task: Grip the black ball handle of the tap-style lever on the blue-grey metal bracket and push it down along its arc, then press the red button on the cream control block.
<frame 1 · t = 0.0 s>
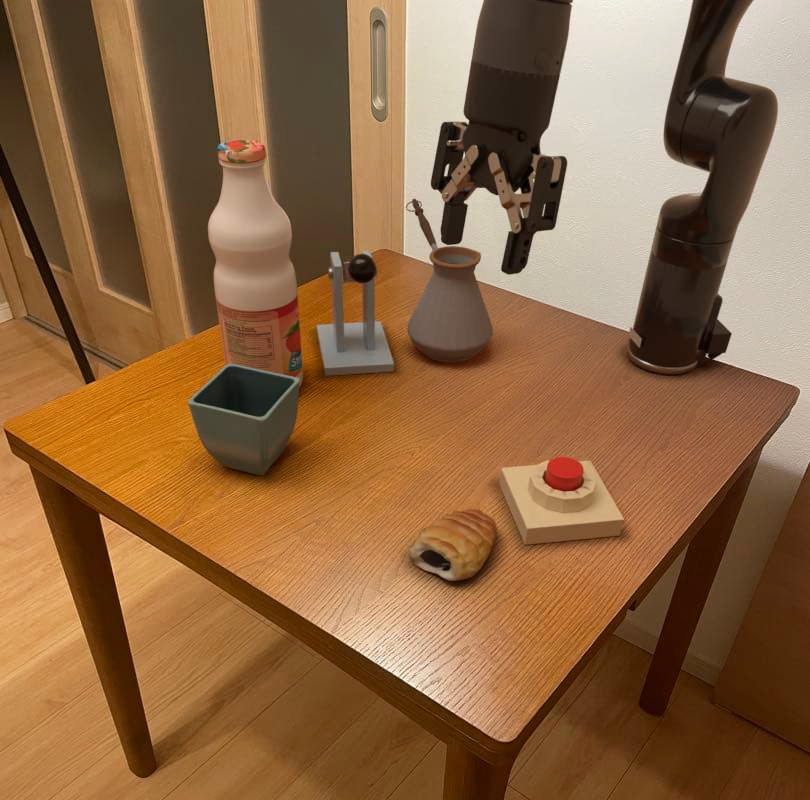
hand: (479, 257, 76), 22 cm above the table, tool pointing down, fingers open, 8 cm apart
button: (564, 474, 80), point 5 cm above the table, slide at 0.2 cm
pastry: (453, 555, 78), on the table
coffee pot: (435, 333, 112), on the table
bracket: (354, 351, 107), on the table
lever: (357, 270, 95), point 13 cm above the table, hinge at 25.0°
flower pot: (253, 461, 89), on the table
fruit juice: (266, 385, 101), on the table
button block: (557, 508, 83), on the table
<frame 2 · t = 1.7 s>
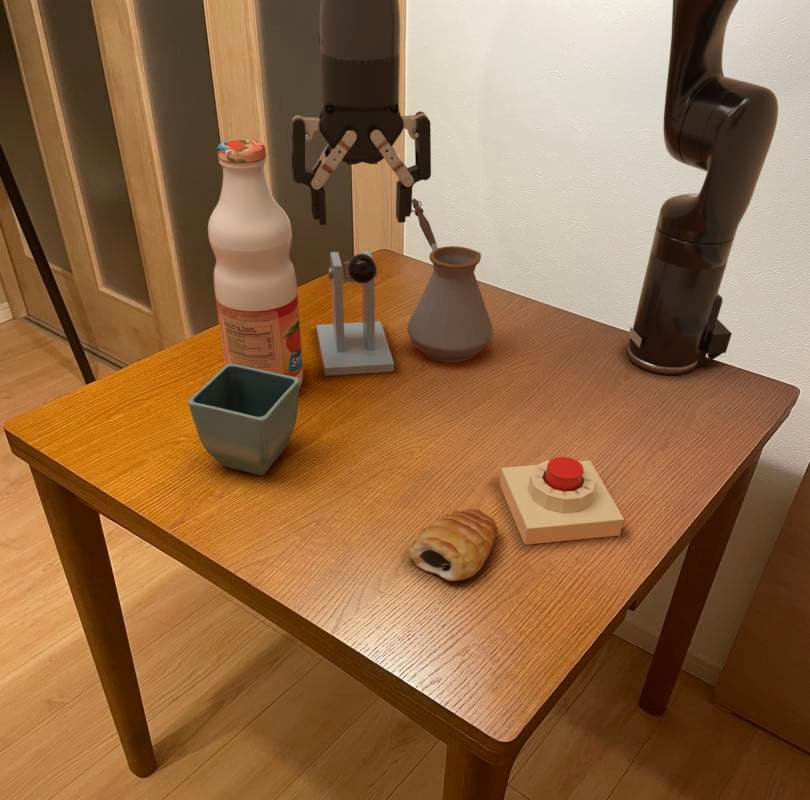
hand: (361, 221, 86), 21 cm above the table, tool pointing down, fingers open, 8 cm apart
nothing on the table moved.
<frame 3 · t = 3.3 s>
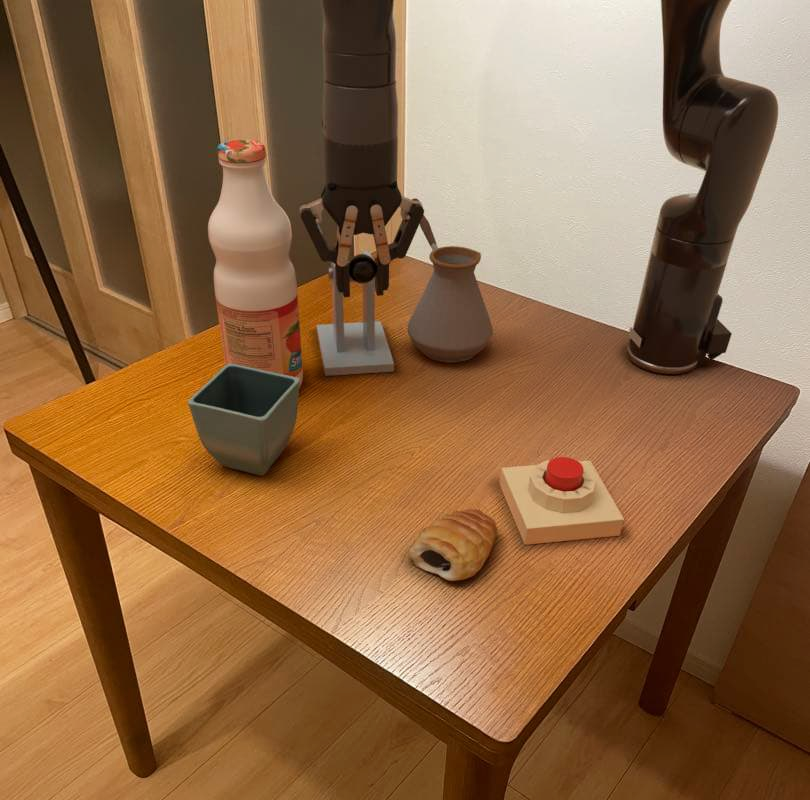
hand: (362, 292, 92), 13 cm above the table, tool pointing down, fingers closed on lever, 3 cm apart
lever: (357, 270, 95), point 13 cm above the table, hinge at 24.9°, touching gripper
everything else where it was.
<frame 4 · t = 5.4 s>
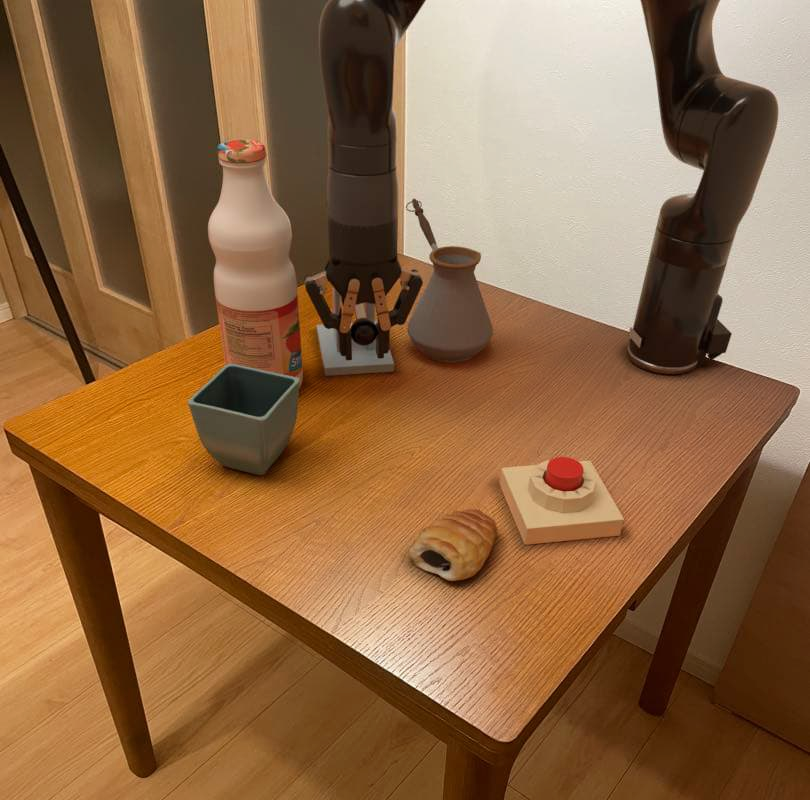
hand: (364, 355, 96), 5 cm above the table, tool pointing down, fingers closed on lever, 3 cm apart
lever: (358, 301, 97), point 10 cm above the table, hinge at -14.3°, touching gripper
everything else where it was.
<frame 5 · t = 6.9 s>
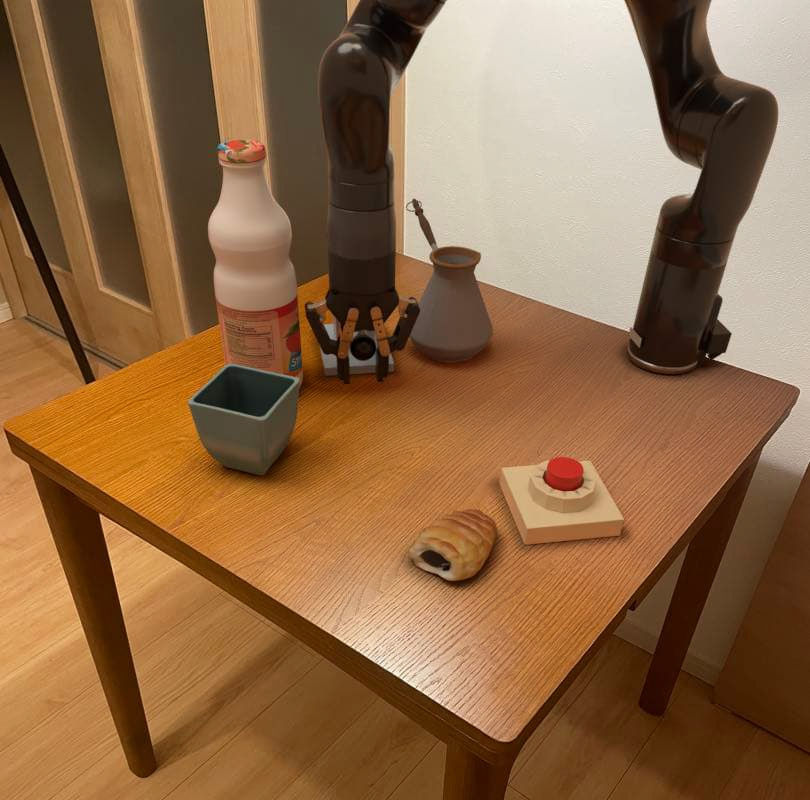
hand: (363, 379, 99), 2 cm above the table, tool pointing down, fingers open, 3 cm apart
lever: (357, 309, 98), point 8 cm above the table, hinge at -28.6°
everything else where it was.
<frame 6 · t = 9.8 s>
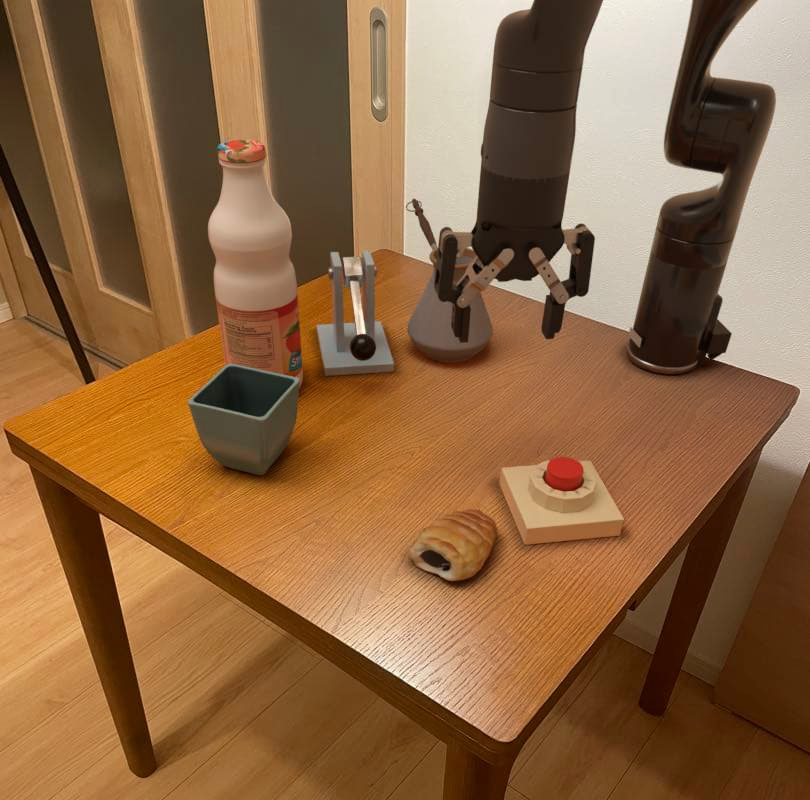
hand: (505, 337, 78), 16 cm above the table, tool pointing down, fingers open, 8 cm apart
nothing on the table moved.
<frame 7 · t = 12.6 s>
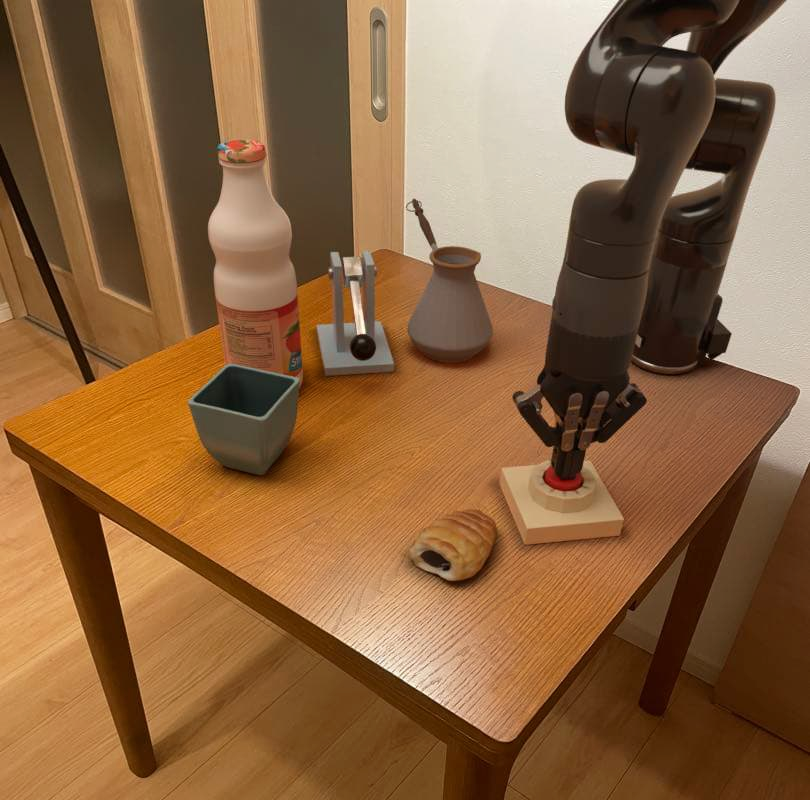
hand: (564, 474, 80), 5 cm above the table, tool pointing down, fingers closed
button: (562, 480, 81), point 4 cm above the table, slide at -0.7 cm, touching gripper
everything else where it was.
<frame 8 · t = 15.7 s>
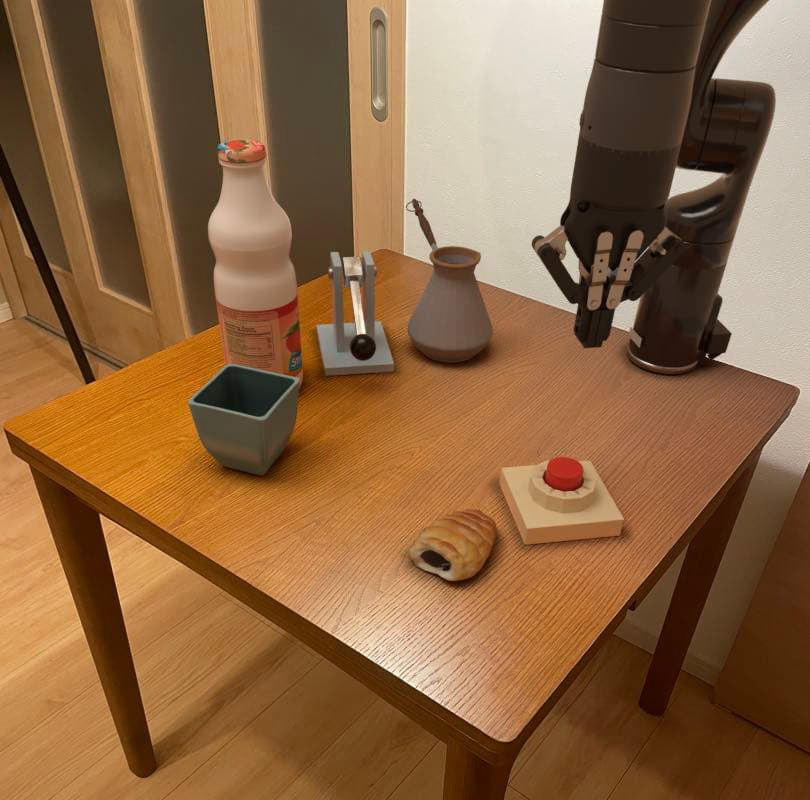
hand: (589, 343, 71), 19 cm above the table, tool pointing down, fingers closed
button: (564, 474, 80), point 5 cm above the table, slide at 0.2 cm
everything else where it was.
at the end: lever at -28° (first picture: +25°); button pushed in 1.1 cm at the most during the clip, back to 0.2 cm at the end; button slide at 0.2 cm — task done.
